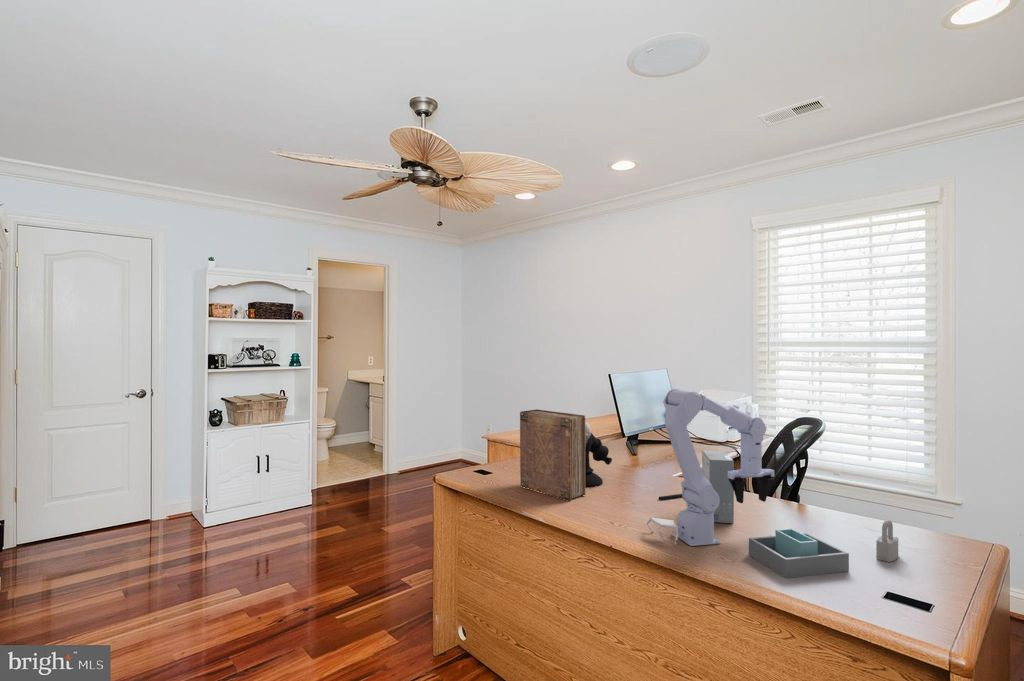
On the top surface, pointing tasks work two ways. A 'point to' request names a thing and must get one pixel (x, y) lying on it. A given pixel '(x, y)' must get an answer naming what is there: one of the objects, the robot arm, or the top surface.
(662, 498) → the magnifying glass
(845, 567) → the grey crate
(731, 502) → the hard drive box
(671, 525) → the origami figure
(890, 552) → the padlock
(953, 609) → the top surface
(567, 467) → the book
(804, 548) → the teal mini crate
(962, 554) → the top surface
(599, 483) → the sculpture
